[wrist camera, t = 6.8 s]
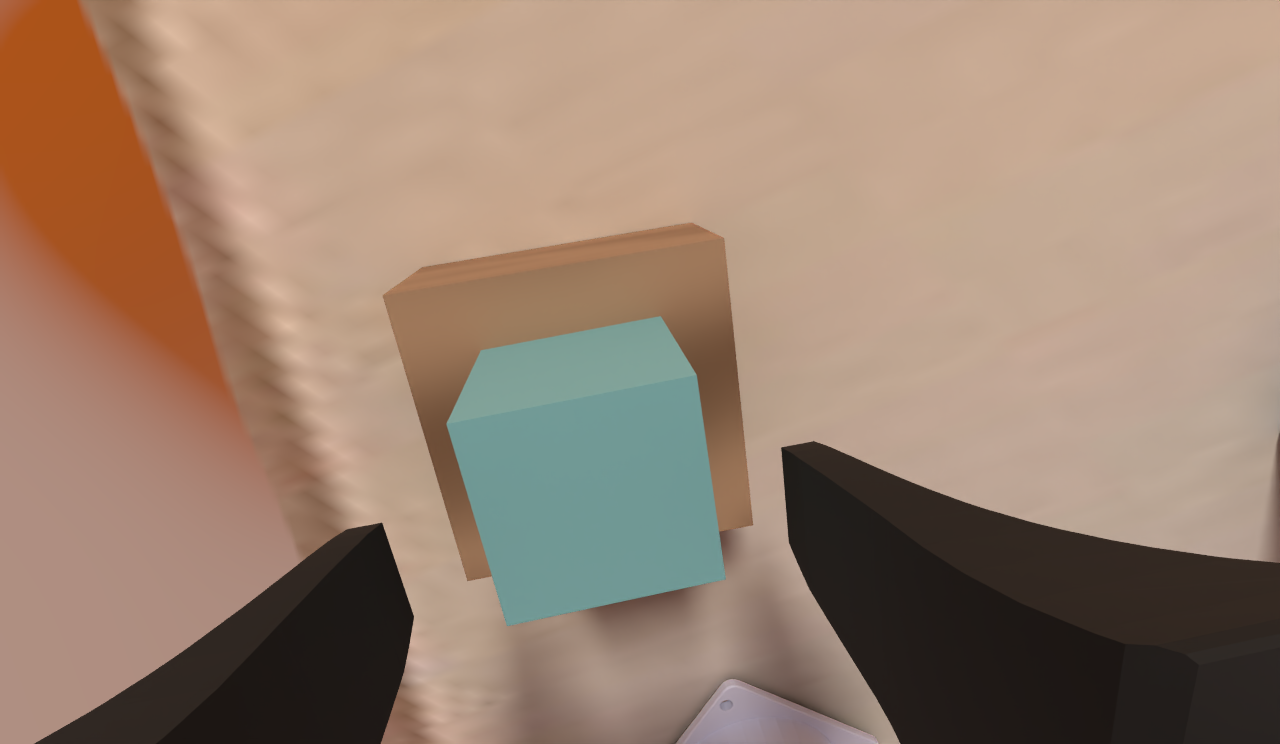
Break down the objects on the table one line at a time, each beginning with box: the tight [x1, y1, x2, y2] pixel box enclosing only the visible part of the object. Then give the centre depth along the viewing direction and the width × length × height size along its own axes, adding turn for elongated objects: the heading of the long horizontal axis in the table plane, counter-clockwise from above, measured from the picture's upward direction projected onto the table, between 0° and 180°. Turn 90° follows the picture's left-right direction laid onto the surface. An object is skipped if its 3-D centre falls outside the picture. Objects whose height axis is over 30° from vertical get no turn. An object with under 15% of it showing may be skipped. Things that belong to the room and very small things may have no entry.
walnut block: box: [383, 223, 753, 581], centre depth 17 cm, size 8×8×4 cm
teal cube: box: [447, 316, 726, 626], centre depth 13 cm, size 4×4×4 cm
